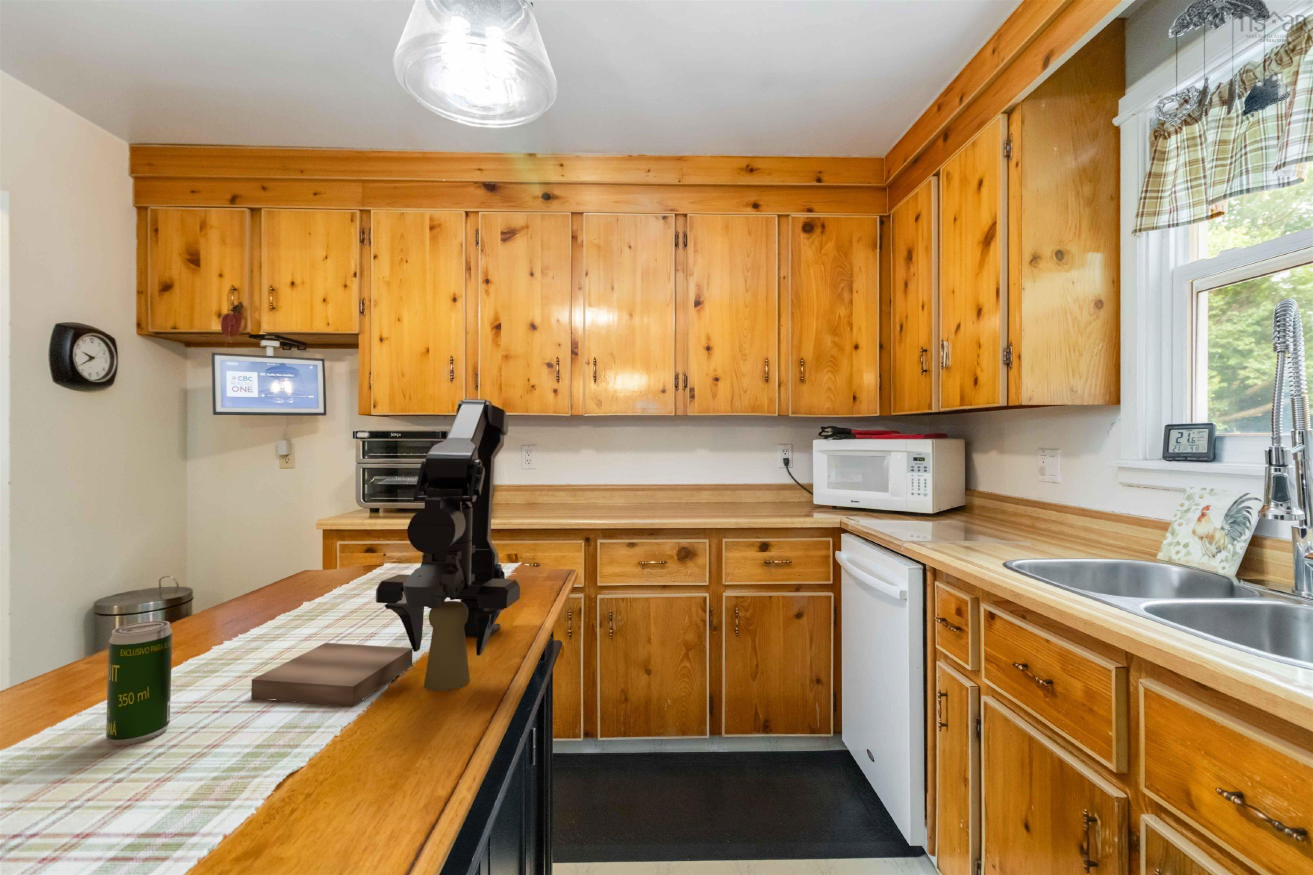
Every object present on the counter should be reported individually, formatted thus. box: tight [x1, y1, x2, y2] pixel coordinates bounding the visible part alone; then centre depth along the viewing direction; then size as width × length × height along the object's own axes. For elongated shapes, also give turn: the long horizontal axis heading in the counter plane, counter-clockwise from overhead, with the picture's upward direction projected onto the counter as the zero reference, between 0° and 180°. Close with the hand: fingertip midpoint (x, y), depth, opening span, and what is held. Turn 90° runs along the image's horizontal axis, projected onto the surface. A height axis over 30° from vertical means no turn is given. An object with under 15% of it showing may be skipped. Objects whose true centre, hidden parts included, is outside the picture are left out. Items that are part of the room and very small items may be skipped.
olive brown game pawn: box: [423, 600, 471, 692], centre depth 81 cm, size 6×6×11 cm
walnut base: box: [250, 642, 414, 707], centre depth 81 cm, size 14×14×2 cm
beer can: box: [105, 620, 173, 746], centre depth 65 cm, size 5×5×12 cm
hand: (447, 652), depth 81 cm, fingers open, 9 cm apart
